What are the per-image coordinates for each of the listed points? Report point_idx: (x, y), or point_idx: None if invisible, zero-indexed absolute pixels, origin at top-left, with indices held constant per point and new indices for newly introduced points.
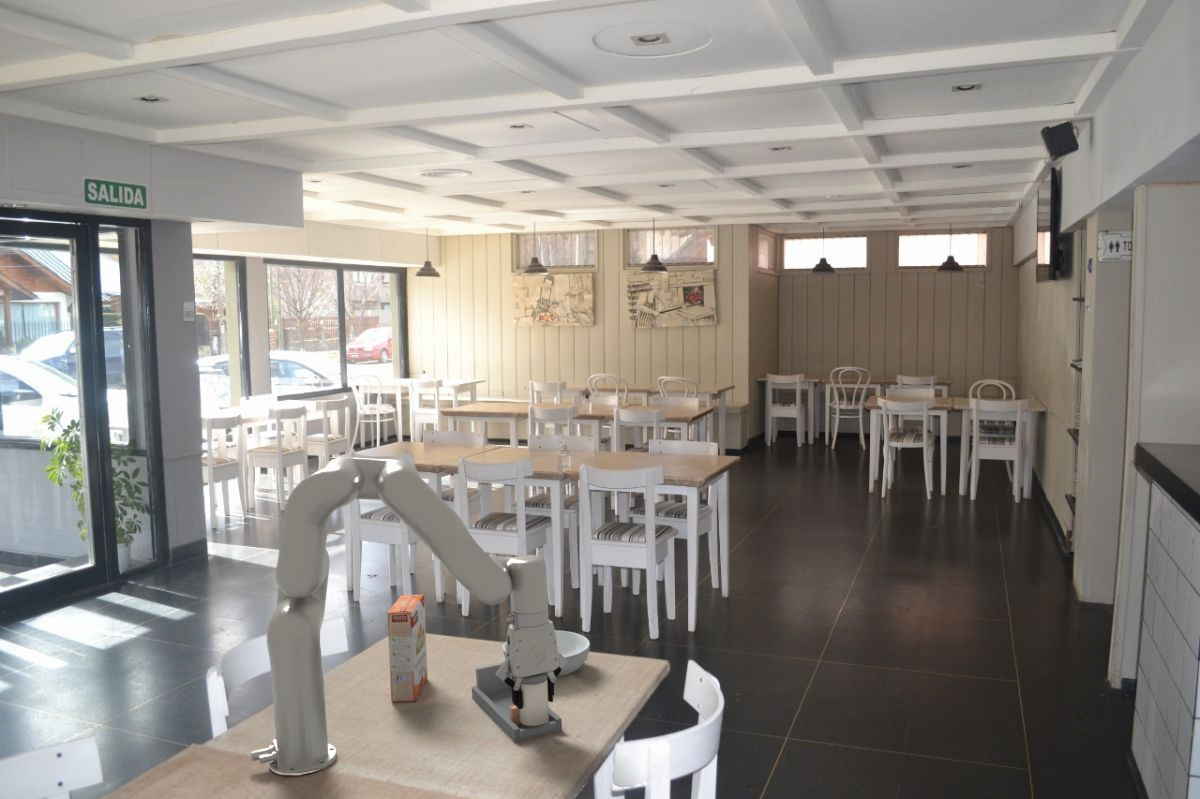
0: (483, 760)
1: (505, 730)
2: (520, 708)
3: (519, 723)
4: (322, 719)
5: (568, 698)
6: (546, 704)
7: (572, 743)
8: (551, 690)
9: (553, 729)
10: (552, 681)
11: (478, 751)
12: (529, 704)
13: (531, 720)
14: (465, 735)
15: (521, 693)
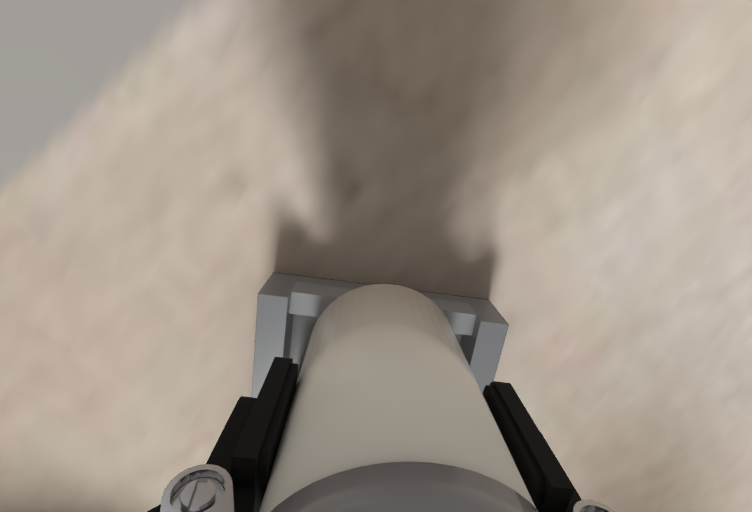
0: (673, 244)
1: None
2: (505, 383)
3: None
4: None
5: (110, 493)
6: (337, 340)
7: (298, 133)
8: (262, 409)
9: (311, 282)
10: (214, 480)
11: (634, 322)
12: (464, 370)
13: (437, 313)
14: (582, 454)
15: (537, 461)
